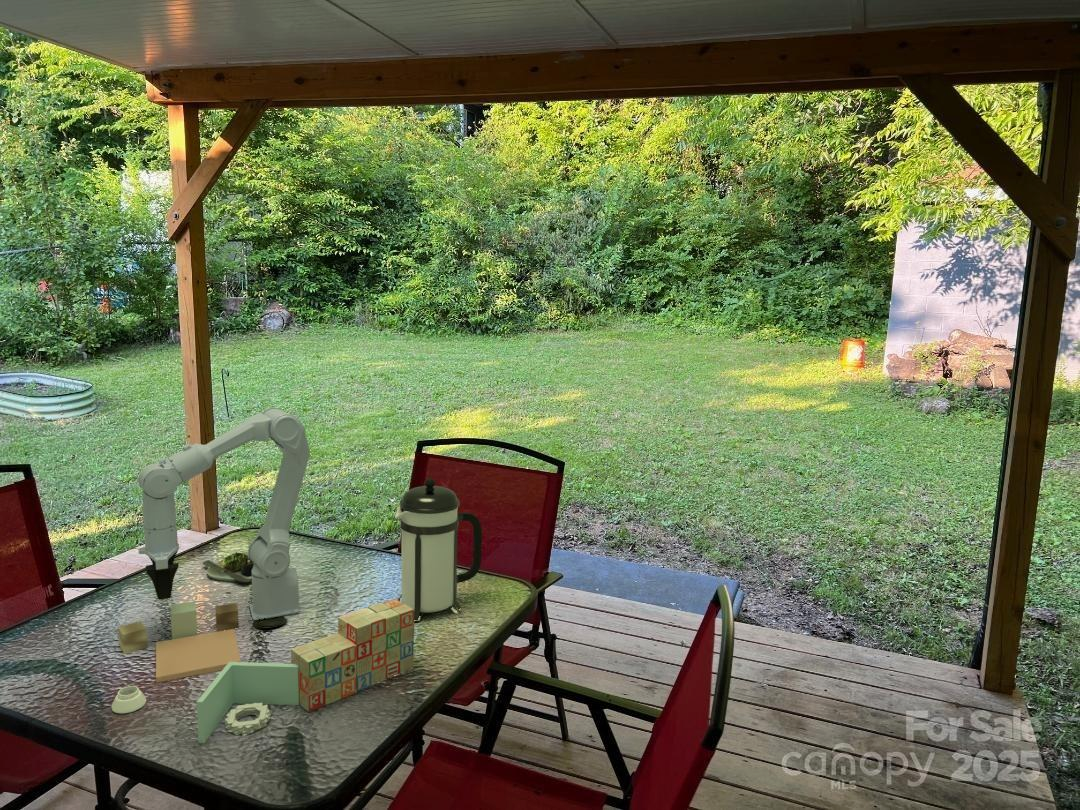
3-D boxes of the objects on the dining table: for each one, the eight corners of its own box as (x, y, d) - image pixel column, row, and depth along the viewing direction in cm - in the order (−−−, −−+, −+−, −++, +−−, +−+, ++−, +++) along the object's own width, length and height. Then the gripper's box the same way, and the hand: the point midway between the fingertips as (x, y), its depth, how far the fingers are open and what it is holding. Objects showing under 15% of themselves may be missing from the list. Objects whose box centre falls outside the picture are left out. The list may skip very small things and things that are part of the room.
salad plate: (182, 581, 173) (181, 562, 172) (227, 554, 190) (226, 537, 189) (256, 590, 169) (256, 571, 169) (295, 562, 187) (295, 545, 186)
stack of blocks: (308, 713, 122) (307, 645, 120) (290, 698, 126) (289, 631, 124) (414, 669, 137) (414, 608, 135) (395, 656, 141) (395, 597, 139)
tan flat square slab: (234, 633, 148) (234, 628, 148) (240, 666, 136) (240, 661, 136) (156, 647, 142) (156, 642, 141) (156, 682, 129) (155, 677, 129)
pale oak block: (141, 640, 144) (140, 621, 144) (147, 647, 141) (146, 628, 141) (119, 646, 142) (117, 627, 141) (124, 654, 139) (123, 634, 138)
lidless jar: (152, 700, 124) (126, 696, 125) (151, 684, 124) (125, 681, 125) (131, 717, 119) (104, 713, 120) (130, 700, 119) (103, 697, 120)
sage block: (196, 628, 150) (195, 601, 149) (197, 638, 146) (196, 610, 145) (171, 633, 147) (170, 605, 146) (172, 642, 144) (170, 614, 143)
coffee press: (448, 630, 153) (450, 491, 148) (381, 616, 158) (381, 482, 153) (481, 597, 169) (484, 471, 164) (420, 586, 174) (420, 464, 169)
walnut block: (236, 620, 154) (236, 602, 153) (238, 628, 150) (237, 610, 150) (216, 624, 152) (215, 606, 151) (217, 632, 148) (216, 614, 148)
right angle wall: (198, 746, 113) (196, 701, 112) (230, 702, 125) (229, 661, 124) (275, 748, 113) (274, 704, 112) (300, 704, 125) (299, 664, 124)
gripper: (138, 516, 147) (142, 580, 149) (135, 540, 134) (140, 609, 137) (177, 512, 150) (181, 574, 153) (178, 535, 138) (182, 602, 140)
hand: (164, 590), depth 145 cm, fingers open, 7 cm apart
